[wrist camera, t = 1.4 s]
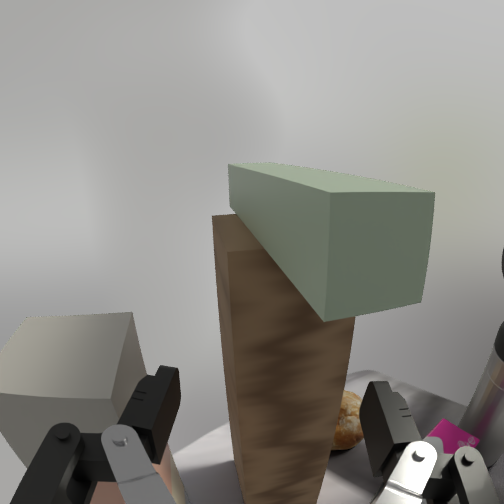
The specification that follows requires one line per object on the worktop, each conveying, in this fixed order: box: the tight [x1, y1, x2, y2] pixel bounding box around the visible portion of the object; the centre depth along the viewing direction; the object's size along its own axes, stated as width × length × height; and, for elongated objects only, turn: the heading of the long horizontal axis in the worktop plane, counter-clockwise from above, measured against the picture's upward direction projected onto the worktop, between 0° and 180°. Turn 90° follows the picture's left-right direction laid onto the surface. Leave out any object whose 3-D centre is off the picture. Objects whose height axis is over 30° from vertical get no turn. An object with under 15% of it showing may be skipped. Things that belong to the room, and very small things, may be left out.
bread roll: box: [331, 390, 364, 450], centre depth 40 cm, size 10×10×8 cm
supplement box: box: [420, 419, 480, 504], centre depth 25 cm, size 6×6×12 cm
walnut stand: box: [212, 214, 355, 504], centre depth 27 cm, size 8×10×32 cm
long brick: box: [228, 163, 435, 322], centre depth 20 cm, size 4×22×4 cm, turn 11°
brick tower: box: [0, 312, 191, 504], centre depth 19 cm, size 8×8×28 cm
